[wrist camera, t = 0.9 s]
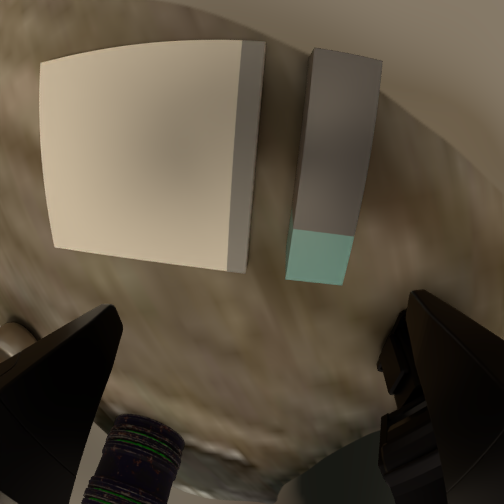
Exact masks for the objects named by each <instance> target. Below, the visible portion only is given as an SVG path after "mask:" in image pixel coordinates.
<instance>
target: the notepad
mask: <svg viewBox="0 0 504 504" xmlns="http://www.w3.org/2000/svg"><path fill="white" fill-rule="evenodd" d="M265 53H266V43H265V42H264V41H247V40H185V41H167V42H155V43H144V44H135V45H127V46H120V47H113V48H107V49H101V50H95V51H90V52H85V53H80V54H75V55H71V56H66V57H62V58H58V59H54V60H50V61H46V62H43V63H41V65H40V90H39V116H40V141H41V156H42V167H43V177H44V186H45V194H46V201H47V208H48V214H49V220H50V226H51V231H52V236H53V241H54V246H55V247H56V248H63V249H69V250H76V251H83V252H90V253H96V254H103V255H110V256H117V257H124V258H131V259H139V260H146V261H153V262H161V263H168V264H176V265H183V266H191V267H199V268H207V269H215V270H223V271H228V272H236V273H246V268H247V261H248V249H249V237H250V225H251V214H252V202H253V190H254V178H255V167H256V155H257V144H258V132H259V121H260V109H261V98H262V86H263V75H264V64H265Z"/></svg>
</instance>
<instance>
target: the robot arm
mask: <svg viewBox="0 0 504 504" xmlns="http://www.w3.org/2000/svg"><path fill="white" fill-rule="evenodd" d="M405 316H406V318H404V317H405ZM122 332H123V325H122V322H121V320H120V317H119V315H118V312H117V310H116V308H115V306H114V305H112V304H101V305H99V306H98V307H96V308H94V309H92V310H91V311H89V312H87V313H85V314H84V315H82V316H80V317H78V318H77V319H75V320H73V321H71V322H70V323H68V324H66V325H64V326H63V327H61V328H59V329H58V330H56V331H54V332H52V333H51V334H49V335H47V336H46V337H44V338H42V339H40V340H39V341H37V342H35V343H34V344H32V345H30V346H29V347H27V348H25V349H24V350H22V351H21V352H18V353H17V354H15V355H13V356H12V357H10V358H8V359H7V360H5V361H3V362H1V363H0V504H69V500H70V497H71V493H72V489H73V486H74V482H75V479H76V475H77V471H78V468H79V464H80V461H81V457H82V455H83V451H84V448H85V445H86V442H87V439H88V435H89V433H90V429H91V426H92V423H93V421H94V418H95V415H96V412H97V409H98V406H99V403H100V401H101V398H102V395H103V392H104V389H105V387H106V384H107V381H108V379H109V376H110V373H111V370H112V367H113V364H114V360H115V357H116V353H117V350H118V346H119V343H120V339H121V336H122ZM379 358H380V359H379V361H378V363H377V369H378V371H380V372H383V373H384V377H385V381H386V385H387V389H388V393H389V394H390V395H394V397H395V401H396V405H397V410H395V411H393V412H391V413H390V414H388V413H387V414H386V415H384V416H382V417H381V432H380V447H379V460H378V466H379V468H380V470H381V474H382V475H383V478H384V480H385V481H386V483H387V484H388V485H389V487H390V488H391V491H392V493H393V496H394V499H395V503H396V504H504V340H503V339H501V338H500V337H498V336H497V335H495V334H494V333H492V332H491V331H489V330H488V329H486V328H485V327H483V326H481V325H480V324H478V323H477V322H475V321H474V320H472V319H471V318H469V317H468V316H466V315H464V314H463V313H461V312H460V311H458V310H457V309H455V308H453V307H452V306H450V305H449V304H447V303H445V302H444V301H442V300H440V299H439V298H437V297H436V296H434V295H432V294H431V293H429V292H427V291H426V290H423V289H422V290H413V291H411V292H410V295H409V301H408V306H407V310H405V311H402V312H401V313H400V315H399V317H398V319H397V321H396V324H395V326H394V328H393V331H392V333H391V334H390V335H389V337H388V339H387V341H386V343H385V345H384V348H383V350H382V352H381V354H380V356H379Z"/></svg>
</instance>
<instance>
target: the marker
mask: <svg viewBox="0 0 504 504" xmlns="http://www.w3.org/2000/svg"><path fill="white" fill-rule="evenodd" d="M381 72H382V61H381V60H377V59H372V58H368V57H364V56H359V55H354V54H349V53H344V52H339V51H333V50H326V49H321V48H314V49H313V51H312V53H311V54H310V56H309V60H308V71H307V81H306V91H305V101H304V110H303V119H302V128H301V137H300V146H299V154H298V162H297V170H296V178H295V186H294V194H293V202H292V209H291V217H290V224H289V231H288V238H287V245H286V278H285V279H288V280H297V281H306V282H315V283H324V284H333V285H342V284H343V280H344V276H345V272H346V268H347V264H348V260H349V256H350V252H351V248H352V244H353V239H354V235H355V231H356V226H357V222H358V217H359V212H360V208H361V203H362V198H363V193H364V188H365V182H366V177H367V172H368V166H369V160H370V154H371V148H372V142H373V135H374V129H375V122H376V115H377V107H378V99H379V91H380V81H381Z"/></svg>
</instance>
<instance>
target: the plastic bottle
mask: <svg viewBox="0 0 504 504" xmlns="http://www.w3.org/2000/svg"><path fill="white" fill-rule="evenodd" d="M35 342H37V340H36V338H35V337H34V336H33V335H32V334H31V333H30V332H29V331H28V330H27V329H26V328H25V327H23V326H22V325H20V324H18V323H15V322H12V323H6V324H4V325H3V326H1V327H0V363H1V362H3V361H5V360H7V359H8V358H10V357H12V356H13V355H15V354H17V353H18V352H21V351H22V350H24V349H25V348H27V347H29V346H30V345H32V344H34V343H35Z"/></svg>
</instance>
